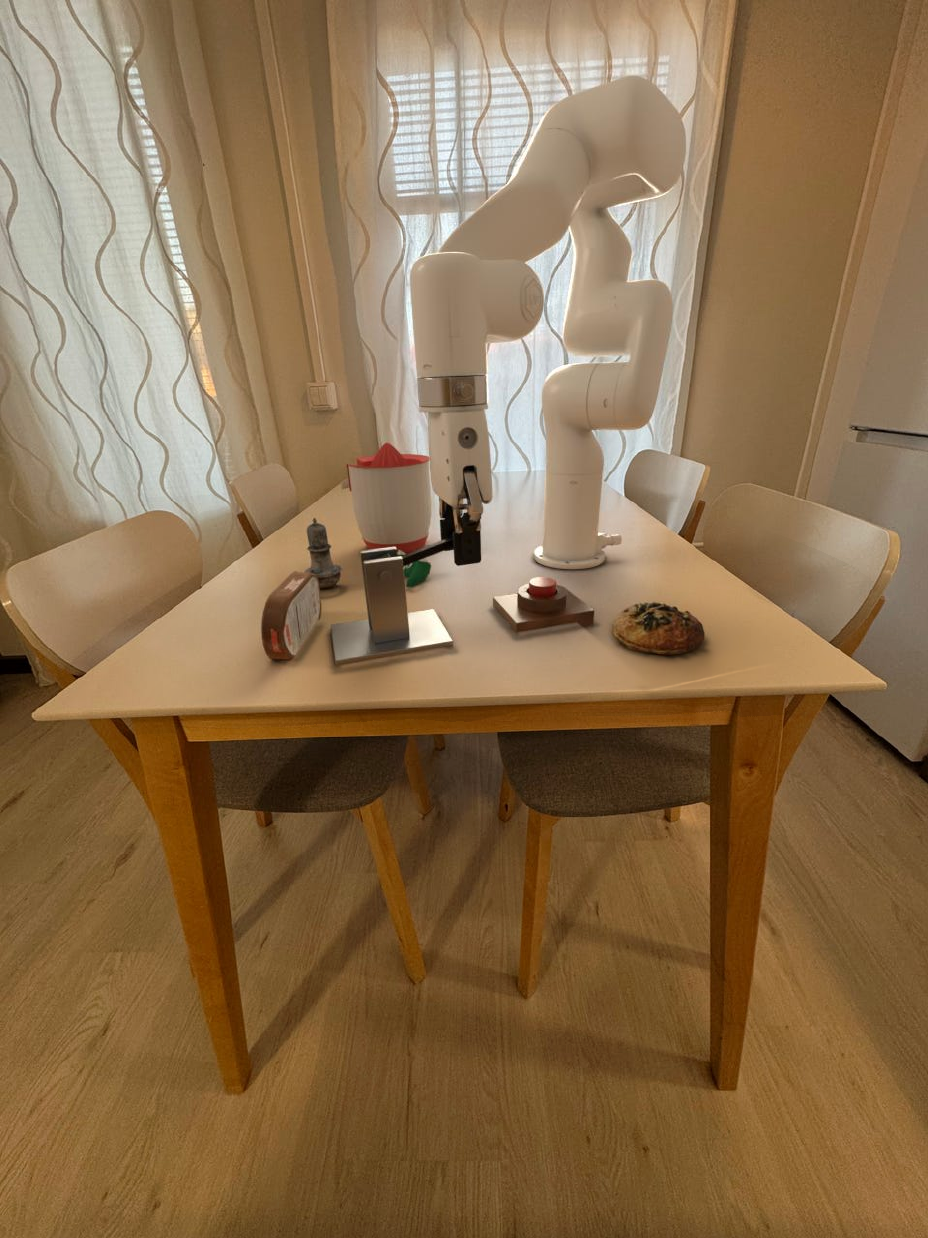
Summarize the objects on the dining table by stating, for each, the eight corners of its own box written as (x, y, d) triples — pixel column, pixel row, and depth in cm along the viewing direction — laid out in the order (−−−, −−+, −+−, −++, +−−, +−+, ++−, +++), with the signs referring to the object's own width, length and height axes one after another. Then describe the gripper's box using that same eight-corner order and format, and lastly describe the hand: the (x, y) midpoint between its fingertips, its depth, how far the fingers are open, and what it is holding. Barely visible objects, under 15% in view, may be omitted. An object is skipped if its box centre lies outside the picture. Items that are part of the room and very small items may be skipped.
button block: (562, 600, 74) (564, 574, 73) (593, 625, 67) (595, 597, 65) (492, 611, 72) (492, 585, 70) (516, 638, 64) (516, 610, 62)
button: (548, 587, 70) (549, 575, 69) (560, 596, 66) (561, 584, 66) (524, 590, 69) (524, 578, 68) (535, 600, 66) (535, 588, 65)
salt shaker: (335, 599, 77) (323, 523, 72) (300, 597, 78) (286, 522, 73) (350, 585, 82) (340, 513, 77) (318, 583, 84) (305, 512, 78)
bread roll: (724, 650, 59) (726, 612, 57) (635, 672, 58) (633, 634, 56) (673, 615, 69) (673, 581, 67) (597, 633, 68) (594, 599, 66)
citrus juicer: (363, 535, 109) (351, 438, 101) (441, 535, 107) (436, 436, 98) (337, 558, 96) (321, 448, 87) (426, 559, 93) (418, 446, 84)
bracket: (434, 618, 70) (428, 536, 65) (453, 651, 61) (448, 560, 56) (332, 634, 67) (318, 549, 61) (337, 672, 58) (321, 576, 53)
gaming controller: (422, 598, 81) (440, 566, 82) (408, 587, 78) (427, 555, 79) (386, 585, 87) (403, 556, 88) (372, 574, 84) (389, 544, 85)
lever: (461, 540, 64) (456, 522, 63) (473, 551, 59) (467, 533, 58) (372, 575, 62) (364, 557, 61) (377, 589, 58) (369, 571, 57)
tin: (307, 618, 72) (296, 562, 68) (328, 617, 71) (319, 561, 68) (266, 673, 58) (250, 607, 54) (293, 673, 58) (279, 607, 54)
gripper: (516, 395, 47) (515, 574, 55) (463, 391, 62) (468, 533, 70) (439, 400, 46) (450, 585, 54) (403, 395, 60) (416, 540, 68)
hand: (460, 554), depth 62 cm, fingers closed on lever, 5 cm apart
